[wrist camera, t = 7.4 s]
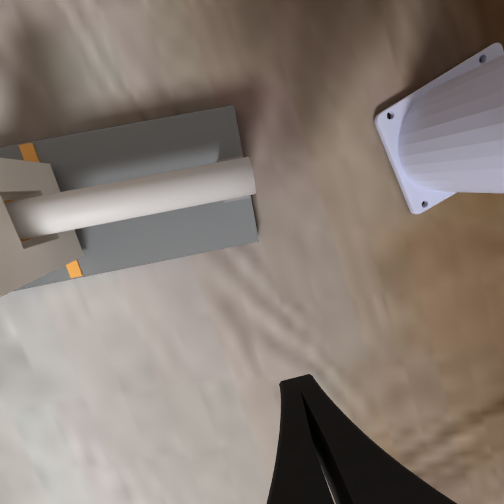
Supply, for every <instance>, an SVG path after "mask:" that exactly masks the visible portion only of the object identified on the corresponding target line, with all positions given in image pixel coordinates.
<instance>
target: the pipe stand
mask: <svg viewBox="0 0 504 504" xmlns="http://www.w3.org/2000/svg"><path fill="white" fill-rule="evenodd" d="M0 158H7V159H16V160H24V161H32V162H40V163H48V164H50V165H51V168H52V171H53V173H54V176H55V179H56V181H57V184H58V187H59V189H60V192H58V193H53V194H48V195H43V196H37V197H32V198H27V199H21V200H16V201H15V200H5V201H3V202H4V204H5V207H6V209H7V211H8V214H9V216H10V218H11V221H12V223H13V225H14V228H15V230H16V232H17V234H18V237H19V239H20V241H21V242H22V241H27V240H29V239H31V238H33V237H38V236H43V235H48V234H53V233H58V232H63V231H69V230H75V233H76V235H77V238H78V241H79V243H80V246H81V249H82V251H83V254H84V256H83V257H81V258H79V259H77V260H75V261H73V262H71V263H69V264H67V265H65V266H63V267H61V268H59V269H57V270H54V271H52V272H50V273H48V274H46V275H44V276H42V277H40V278H38V279H36V280H34V281H32V282H30V283H28V284H26V285H24V286H22V287H20V288H18V289H16V290H21V289H26V288H31V287H36V286H41V285H46V284H51V283H56V282H61V281H65V280H70V279H75V278H80V277H85V276H90V275H95V274H100V273H105V272H110V271H115V270H120V269H125V268H130V267H135V266H140V265H145V264H150V263H155V262H159V261H164V260H169V259H174V258H179V257H184V256H189V255H194V254H199V253H204V252H209V251H214V250H219V249H224V248H229V247H234V246H239V245H244V244H249V243H253V242H258V241H259V239H258V233H257V228H256V222H255V217H254V211H253V206H252V200H251V195H253V194H256V188H255V180H254V174H253V169H252V165H251V161H250V158H249V157H243V151H242V146H241V140H240V135H239V129H238V124H237V119H236V113H235V108H234V105H230V106H225V107H219V108H214V109H208V110H203V111H197V112H191V113H186V114H180V115H175V116H169V117H164V118H158V119H153V120H147V121H142V122H136V123H130V124H125V125H119V126H114V127H108V128H103V129H97V130H92V131H86V132H81V133H75V134H69V135H64V136H58V137H53V138H47V139H42V140H36V141H31V142H25V143H20V144H14V145H8V146H3V147H0ZM16 290H14V291H16Z"/></svg>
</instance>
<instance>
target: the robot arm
mask: <svg viewBox="0 0 504 504" xmlns="http://www.w3.org/2000/svg"><path fill="white" fill-rule="evenodd" d="M479 58H480V59H481V63H480V62H479ZM387 113H390V115H391V118H390V119H388V118H387ZM374 122H375V126H376V128H377V130H378V133H379V135H380V138H381V140H382V143H383V145H384V148H385V150H386V153H387V155H388V158H389V160H390V163H391V165H392V167H393V170H394V172H395V175H396V177H397V180H398V182H399V185H400V187H401V190H402V192H403V195H404V197H405V200H406V202H407V204H408V207H409V209H410V211H411V213H413V214H420V213H422V212H424V211H426V210H427V209H429V208H431V207H432V206H434V205H436V204H438V203H439V202H441V201H443V200H444V199H446V198H448V197H450V196H451V195H453V194H455V193H456V192H478V193H504V51H503V47H502V45H501V44H500V43H494V44H492V45H490V46H488V47H487V48H485V49H483V50H482V51H480V52H479V53H477V54H475V55H474V56H472V57H470V58H469V59H467V60H465V61H464V62H462V63H461V64H459V65H457V66H456V67H454V68H452V69H451V70H449V71H447V72H446V73H444V74H443V75H441V76H439V77H438V78H436V79H434V80H433V81H431V82H429V83H428V84H426V85H425V86H423V87H421V88H420V89H418V90H416V91H415V92H413V93H411V94H410V95H408V96H407V97H405V98H403V99H402V100H400V101H398V102H397V103H395V104H393V105H392V106H390V107H389V108H387V109H385V110H384V111H382V112H380V113H379V114H378V115H376V117H375V121H374ZM423 201H424V206H423V207H422V202H423ZM279 385H280V392H281V419H280V432H279V440H278V448H277V456H276V462H275V467H274V473H273V478H272V483H271V487H270V491H269V496H268V500H267V504H334V502H333V499H332V496H331V493H330V490H331V492H332V495H333V497H334V500H335V502H336V504H457V503H455V502H454V501H452V500H451V499H449V498H448V497H446V496H445V495H443V494H442V493H440V492H439V491H437V490H436V489H434V488H433V487H431V486H430V485H429V484H427V483H426V482H424V481H423V480H422V479H420V478H419V477H418V476H416V475H415V474H413V473H412V472H411V471H409V470H408V469H406V468H405V467H404V466H402V465H401V464H400V463H399V462H397V461H396V460H395V459H394V458H392V457H391V456H390V455H389V454H387V453H386V452H385V451H384V450H383V449H381V448H380V447H379V446H378V445H377V444H375V443H374V442H373V441H372V440H371V439H370V438H369V437H368V436H366V435H365V434H364V433H363V432H362V431H361V430H360V429H359V428H358V427H357V426H356V425H355V424H354V423H353V422H352V421H351V420H350V419H349V418H348V417H347V416H346V415H345V414H344V413H343V412H342V411H341V410H340V409H339V408H338V407H337V406H336V405H335V404H334V403H333V401H332V400H331V399H330V398H329V397H328V396H327V395H326V393H325V392H324V391H323V390H322V389H321V387H320V386H319V385H318V383H317V382H316V381H315V379H314V378H313V376H312V375H310V374H307V375H304V376H300V377H296V378H292V379H288V380H284V381H281V382H280V384H279ZM321 467H322V468H321ZM322 470H323V471H322ZM323 472H324V474H323ZM324 475H325V477H326V479H325V477H324ZM326 480H327V482H328V485H329V487H330V490H329V488H328V485H327V482H326Z"/></svg>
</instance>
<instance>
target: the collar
mask: <svg viewBox="0 0 504 504" xmlns="http://www.w3.org/2000/svg"><path fill="white" fill-rule="evenodd" d="M58 192H60V189H59V187H58V184H57V181H56V179H55V176H54V173H53V171H52V168H51V165H50V164H48V163H40V162H32V161H24V160H16V159H7V158H0V297H1V296H3V295H5V294H8V293H10V292H12V291H14V290H16V289H18V288H20V287H22V286H24V285H26V284H28V283H30V282H32V281H34V280H36V279H38V278H40V277H42V276H44V275H46V274H48V273H50V272H52V271H54V270H57V269H59V268H61V267H63V266H65V265H67V264H69V263H71V262H73V261H75V260H77V259H79V258H81V257H83V256H84V254H83V251H82V249H81V246H80V243H79V241H78V238H77V235H76V233H75V230H69V231H63V232H58V233H53V234H48V235H43V236H38V237H33V238H31V239H29V240H27V241H22V242H21V241H20V239H19V237H18V234H17V232H16V230H15V228H14V225H13V223H12V221H11V218H10V216H9V214H8V211H7V209H6V207H5V204H4V202H3V201H5V200H15V201H16V200H21V199H27V198H32V197H37V196H43V195H48V194H53V193H58Z"/></svg>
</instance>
